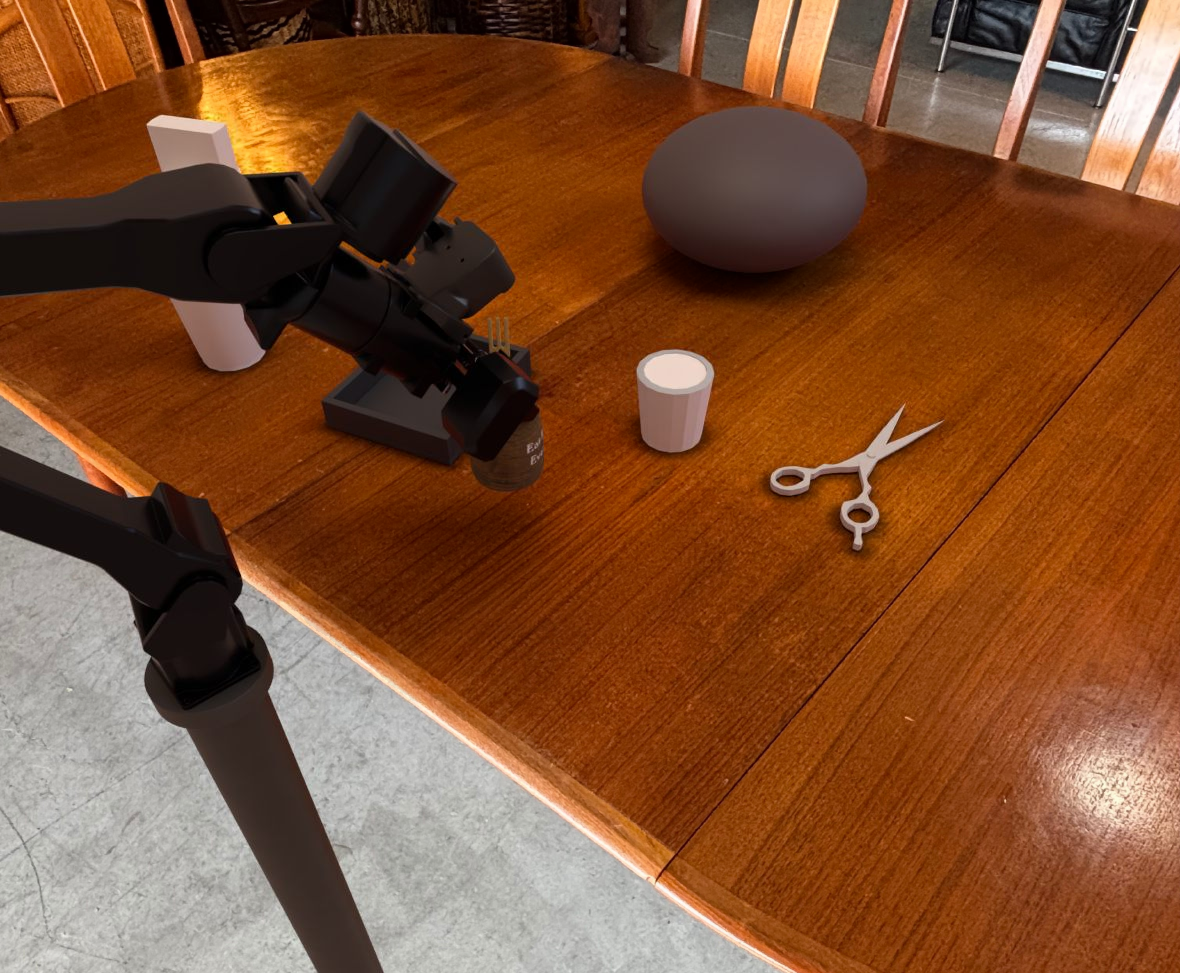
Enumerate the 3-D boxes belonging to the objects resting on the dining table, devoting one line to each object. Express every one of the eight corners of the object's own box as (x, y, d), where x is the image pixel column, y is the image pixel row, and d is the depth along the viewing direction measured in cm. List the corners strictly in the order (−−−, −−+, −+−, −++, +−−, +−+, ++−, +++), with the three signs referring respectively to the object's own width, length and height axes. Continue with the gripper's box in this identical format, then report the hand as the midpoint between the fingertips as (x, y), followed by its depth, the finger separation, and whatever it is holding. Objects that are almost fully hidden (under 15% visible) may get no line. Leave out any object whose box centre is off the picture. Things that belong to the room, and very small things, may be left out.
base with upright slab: (163, 237, 118) (128, 135, 109) (204, 203, 124) (174, 104, 115) (229, 247, 116) (198, 145, 108) (267, 213, 122) (241, 113, 113)
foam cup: (172, 350, 102) (128, 231, 92) (254, 318, 106) (219, 201, 96) (212, 391, 97) (170, 270, 87) (296, 356, 101) (265, 237, 91)
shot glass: (669, 466, 88) (673, 403, 83) (619, 430, 92) (620, 367, 87) (723, 436, 91) (730, 372, 86) (673, 402, 95) (677, 339, 90)
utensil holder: (471, 497, 77) (455, 366, 68) (471, 447, 81) (457, 318, 73) (546, 493, 77) (540, 363, 69) (543, 443, 82) (537, 315, 73)
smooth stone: (602, 231, 118) (602, 101, 107) (774, 186, 126) (790, 61, 115) (711, 330, 103) (724, 192, 92) (899, 273, 111) (931, 139, 100)
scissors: (753, 487, 85) (877, 385, 95) (752, 494, 86) (875, 391, 96) (859, 545, 80) (978, 431, 90) (857, 552, 81) (975, 437, 91)
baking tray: (450, 466, 89) (446, 439, 87) (327, 426, 93) (320, 400, 91) (531, 374, 98) (529, 349, 96) (416, 342, 102) (412, 317, 100)
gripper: (502, 266, 56) (653, 371, 68) (369, 148, 66) (520, 257, 78) (395, 424, 58) (558, 498, 71) (284, 286, 69) (442, 370, 81)
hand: (519, 397), depth 75 cm, fingers closed on utensil holder, 5 cm apart
